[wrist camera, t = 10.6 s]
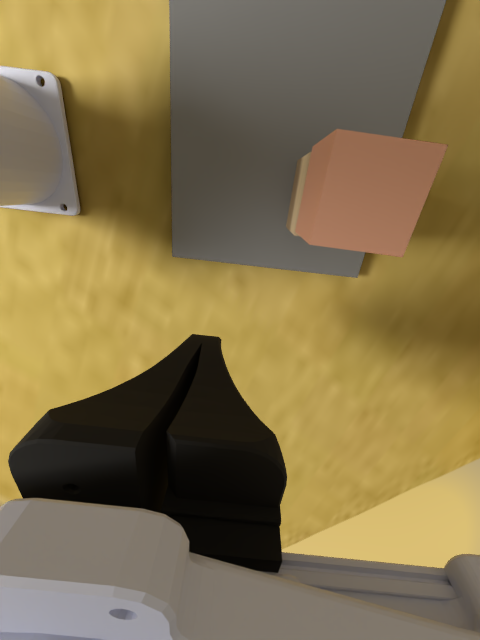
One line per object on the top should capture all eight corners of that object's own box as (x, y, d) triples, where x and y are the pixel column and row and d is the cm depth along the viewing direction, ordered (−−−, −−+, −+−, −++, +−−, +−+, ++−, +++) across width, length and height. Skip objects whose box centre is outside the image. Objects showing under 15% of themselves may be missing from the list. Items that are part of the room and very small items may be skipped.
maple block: (285, 226, 18) (294, 235, 15) (297, 160, 16) (310, 151, 13) (342, 233, 18) (364, 243, 15) (360, 167, 16) (390, 161, 13)
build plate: (176, 253, 20) (172, 256, 19) (174, -200, 11) (166, -240, 10) (351, 273, 21) (357, 277, 20) (484, -157, 12) (507, -192, 11)
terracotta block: (294, 231, 14) (309, 244, 11) (312, 146, 13) (337, 128, 9) (365, 241, 15) (402, 257, 11) (392, 157, 13) (448, 144, 9)
